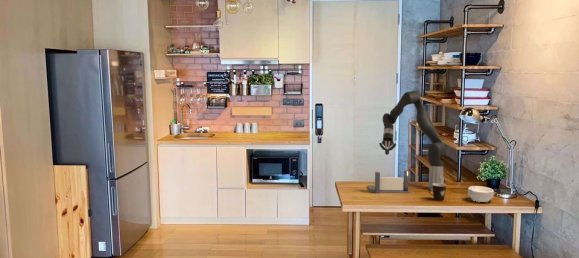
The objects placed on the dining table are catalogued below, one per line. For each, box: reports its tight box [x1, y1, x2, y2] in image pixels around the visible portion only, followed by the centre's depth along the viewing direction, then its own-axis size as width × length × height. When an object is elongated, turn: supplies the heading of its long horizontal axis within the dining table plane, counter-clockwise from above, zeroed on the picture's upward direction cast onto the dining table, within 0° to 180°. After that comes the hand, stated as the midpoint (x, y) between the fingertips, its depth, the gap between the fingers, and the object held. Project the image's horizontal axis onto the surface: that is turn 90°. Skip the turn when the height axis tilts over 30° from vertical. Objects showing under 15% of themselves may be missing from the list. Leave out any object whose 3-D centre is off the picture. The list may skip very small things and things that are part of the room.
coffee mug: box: [428, 183, 447, 202], centre depth 294 cm, size 12×9×10 cm
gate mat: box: [367, 184, 411, 194], centre depth 321 cm, size 27×17×1 cm, turn 87°
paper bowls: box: [467, 185, 495, 203], centre depth 292 cm, size 15×15×8 cm
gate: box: [380, 176, 404, 190], centre depth 314 cm, size 19×2×12 cm, turn 87°
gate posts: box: [374, 169, 410, 194], centre depth 312 cm, size 23×3×15 cm, turn 95°
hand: (387, 154), depth 338 cm, fingers closed
